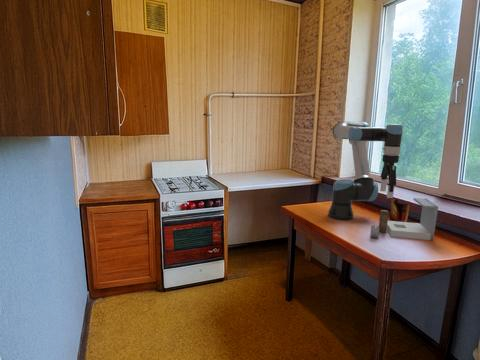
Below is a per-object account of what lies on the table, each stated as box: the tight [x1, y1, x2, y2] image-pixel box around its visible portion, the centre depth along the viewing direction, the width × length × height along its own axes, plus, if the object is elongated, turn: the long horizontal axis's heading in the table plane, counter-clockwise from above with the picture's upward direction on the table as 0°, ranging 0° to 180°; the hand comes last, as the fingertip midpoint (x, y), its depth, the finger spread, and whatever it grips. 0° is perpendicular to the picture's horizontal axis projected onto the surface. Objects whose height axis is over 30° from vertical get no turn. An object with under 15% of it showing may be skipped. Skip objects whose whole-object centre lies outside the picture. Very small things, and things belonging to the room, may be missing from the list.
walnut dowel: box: [378, 209, 390, 234], centre depth 163 cm, size 4×4×12 cm
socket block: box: [386, 197, 439, 241], centre depth 161 cm, size 16×20×18 cm
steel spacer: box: [369, 225, 380, 240], centre depth 155 cm, size 4×4×6 cm
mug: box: [389, 198, 410, 222], centre depth 180 cm, size 10×14×12 cm
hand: (386, 194), depth 158 cm, fingers open, 13 cm apart
